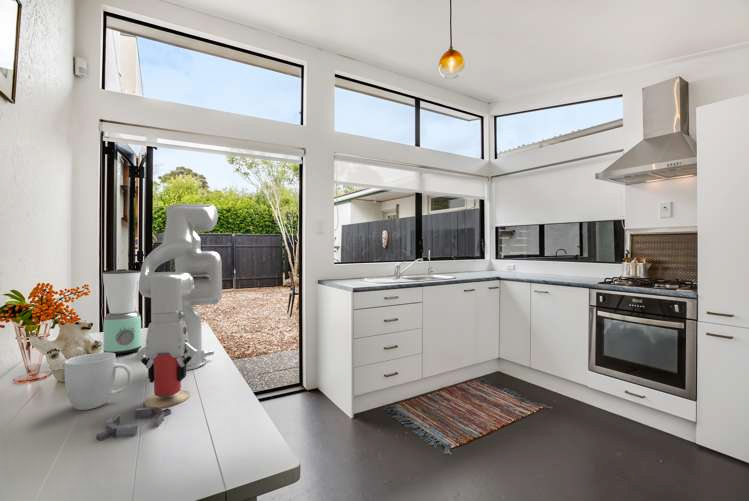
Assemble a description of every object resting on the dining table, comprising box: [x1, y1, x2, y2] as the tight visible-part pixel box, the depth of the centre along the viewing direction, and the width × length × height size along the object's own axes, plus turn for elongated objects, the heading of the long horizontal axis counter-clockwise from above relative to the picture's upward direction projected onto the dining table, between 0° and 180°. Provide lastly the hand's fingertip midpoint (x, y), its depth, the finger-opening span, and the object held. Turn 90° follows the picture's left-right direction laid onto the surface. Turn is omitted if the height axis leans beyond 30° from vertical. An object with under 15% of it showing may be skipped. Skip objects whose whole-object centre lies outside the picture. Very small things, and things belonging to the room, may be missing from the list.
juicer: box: [101, 268, 142, 357], centre depth 150 cm, size 19×13×35 cm
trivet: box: [144, 389, 190, 409], centre depth 101 cm, size 11×11×1 cm
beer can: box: [153, 353, 182, 397], centre depth 101 cm, size 7×7×12 cm
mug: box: [64, 351, 133, 411], centre depth 99 cm, size 15×11×13 cm
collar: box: [95, 406, 172, 442], centre depth 86 cm, size 16×10×2 cm
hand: (167, 379), depth 101 cm, fingers open, 6 cm apart
